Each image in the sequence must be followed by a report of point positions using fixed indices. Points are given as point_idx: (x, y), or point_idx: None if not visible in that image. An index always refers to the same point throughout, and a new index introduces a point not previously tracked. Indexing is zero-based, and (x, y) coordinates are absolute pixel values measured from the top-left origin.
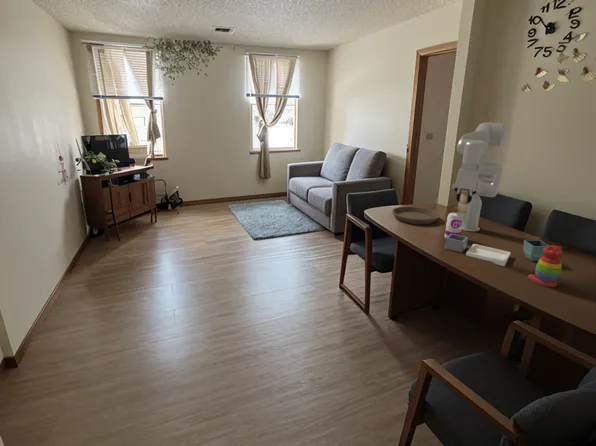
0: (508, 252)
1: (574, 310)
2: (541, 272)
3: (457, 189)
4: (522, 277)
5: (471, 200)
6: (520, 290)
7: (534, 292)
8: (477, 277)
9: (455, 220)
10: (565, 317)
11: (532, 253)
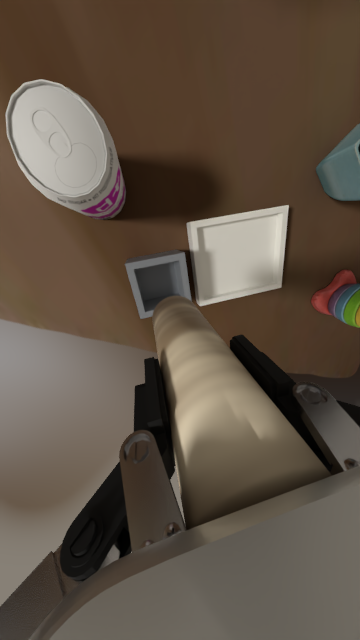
0: (283, 212)
1: (352, 349)
2: (346, 323)
3: (116, 519)
4: (302, 307)
5: (263, 354)
6: (299, 353)
7: (315, 343)
8: None
9: (99, 204)
10: (339, 372)
11: (347, 200)
